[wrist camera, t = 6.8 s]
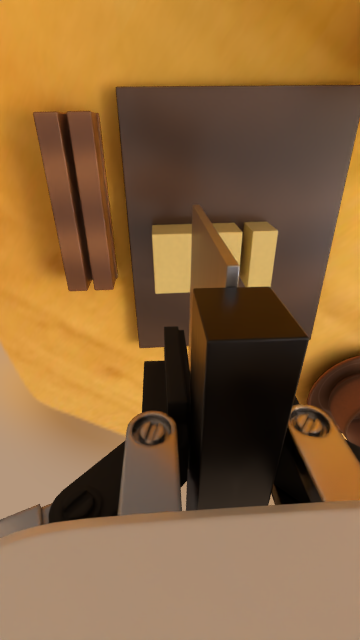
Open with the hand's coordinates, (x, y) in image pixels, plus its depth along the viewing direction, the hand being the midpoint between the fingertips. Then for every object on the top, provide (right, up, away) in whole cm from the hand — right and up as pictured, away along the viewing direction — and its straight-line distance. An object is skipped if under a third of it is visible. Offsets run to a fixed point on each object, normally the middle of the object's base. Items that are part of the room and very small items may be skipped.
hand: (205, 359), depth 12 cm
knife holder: (-9, +11, +15) cm, 21 cm away
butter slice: (+5, +8, +17) cm, 19 cm away
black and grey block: (0, +2, +3) cm, 4 cm away
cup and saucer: (+20, -7, +28) cm, 35 cm away
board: (+4, +9, +17) cm, 20 cm away
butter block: (0, +7, +16) cm, 18 cm away
